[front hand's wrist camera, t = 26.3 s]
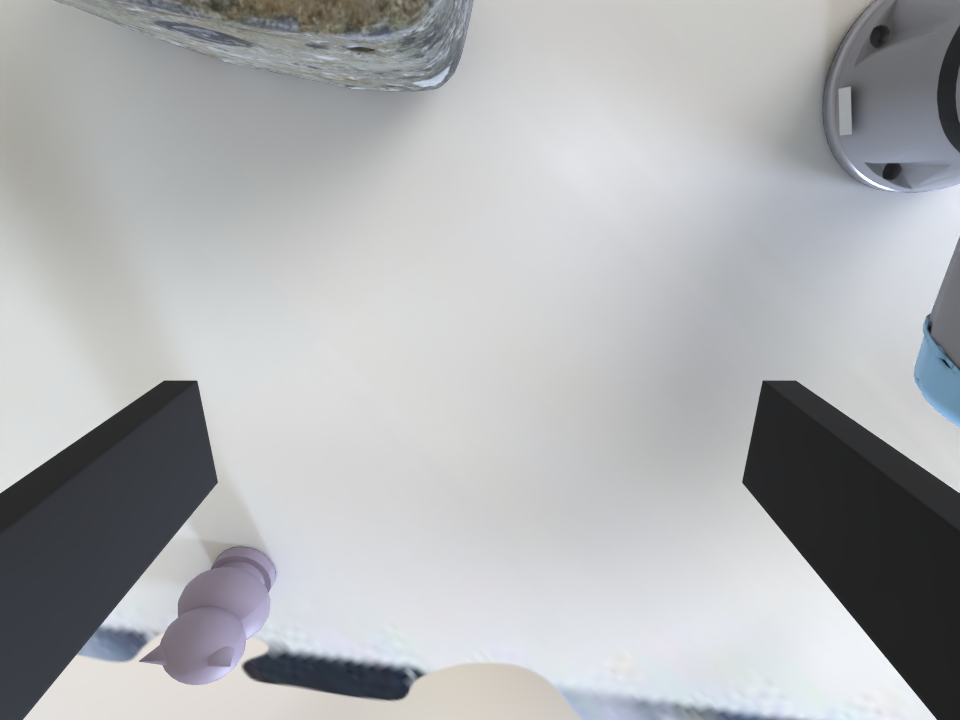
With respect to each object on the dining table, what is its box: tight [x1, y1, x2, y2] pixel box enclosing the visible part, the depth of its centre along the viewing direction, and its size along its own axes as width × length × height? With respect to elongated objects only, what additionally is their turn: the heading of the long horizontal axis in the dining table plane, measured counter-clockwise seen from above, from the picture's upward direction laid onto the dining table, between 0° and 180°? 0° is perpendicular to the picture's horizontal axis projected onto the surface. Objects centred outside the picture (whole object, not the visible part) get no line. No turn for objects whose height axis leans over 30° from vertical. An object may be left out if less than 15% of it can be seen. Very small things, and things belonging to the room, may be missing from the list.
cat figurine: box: [139, 547, 276, 685], centre depth 50 cm, size 9×8×12 cm
